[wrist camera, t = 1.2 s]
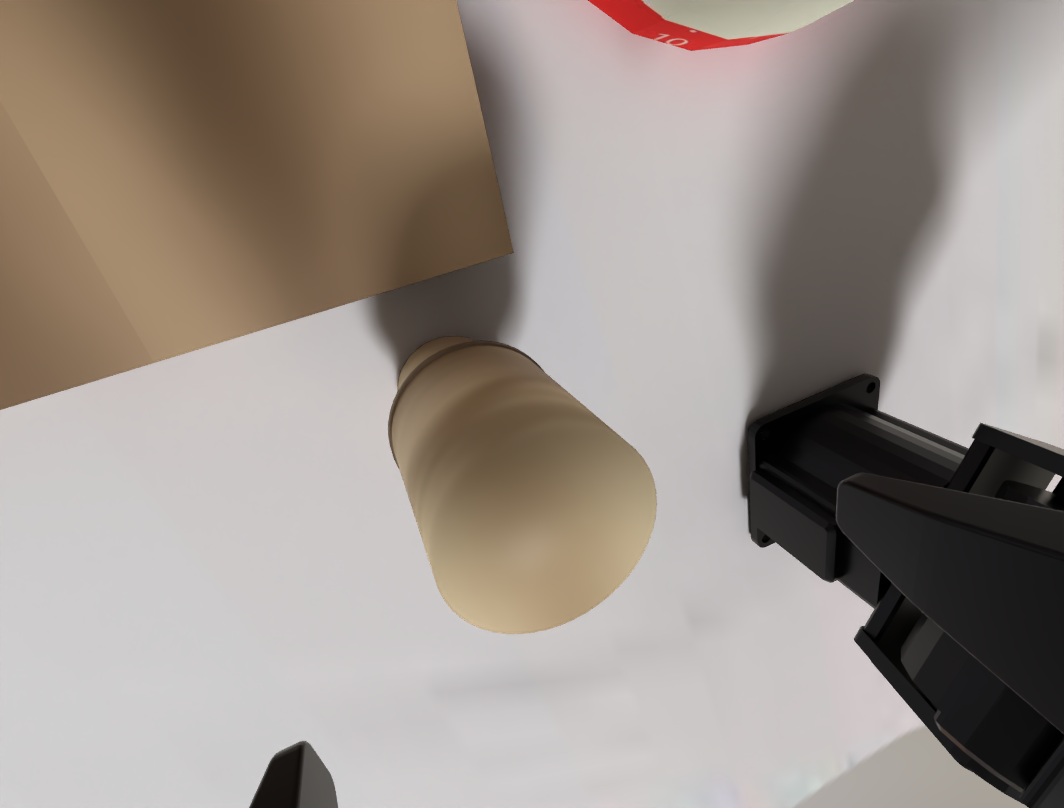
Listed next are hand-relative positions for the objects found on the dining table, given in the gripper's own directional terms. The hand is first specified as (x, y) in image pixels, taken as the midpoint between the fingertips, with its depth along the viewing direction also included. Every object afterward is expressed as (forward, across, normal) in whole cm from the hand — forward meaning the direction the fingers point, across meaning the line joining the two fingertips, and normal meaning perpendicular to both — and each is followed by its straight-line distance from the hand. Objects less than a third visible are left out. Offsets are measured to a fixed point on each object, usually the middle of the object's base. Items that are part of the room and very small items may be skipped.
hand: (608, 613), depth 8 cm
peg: (+10, 0, 0) cm, 10 cm away
